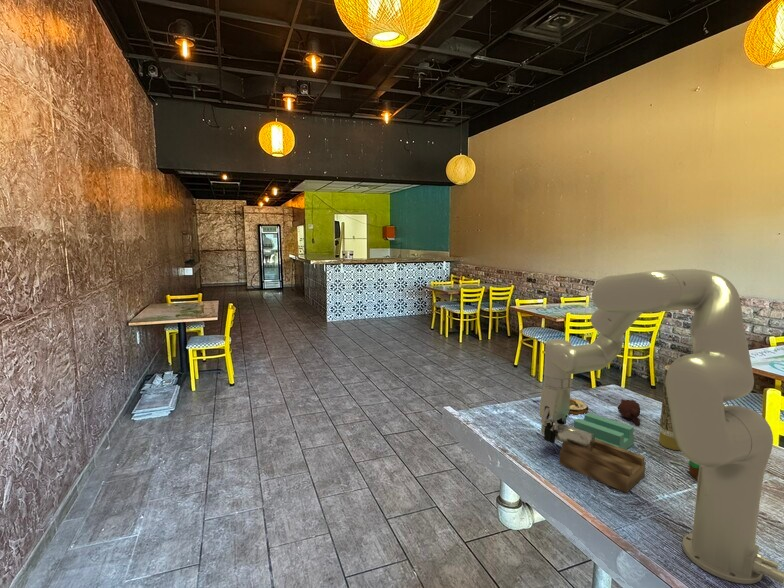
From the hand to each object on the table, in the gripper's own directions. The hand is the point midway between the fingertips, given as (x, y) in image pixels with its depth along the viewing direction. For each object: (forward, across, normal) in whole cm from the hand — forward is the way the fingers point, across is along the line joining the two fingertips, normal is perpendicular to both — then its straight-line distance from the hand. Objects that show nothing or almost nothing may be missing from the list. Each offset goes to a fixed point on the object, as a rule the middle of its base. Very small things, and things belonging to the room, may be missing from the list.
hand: (554, 438), depth 125 cm
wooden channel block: (+4, 0, +14) cm, 15 cm away
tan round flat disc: (+5, -35, -13) cm, 38 cm away
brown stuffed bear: (+4, -43, +5) cm, 44 cm away
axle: (0, 0, +4) cm, 4 cm away
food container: (+4, -18, +32) cm, 37 cm away
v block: (+4, -17, +7) cm, 19 cm away
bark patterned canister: (+4, -31, +22) cm, 38 cm away
